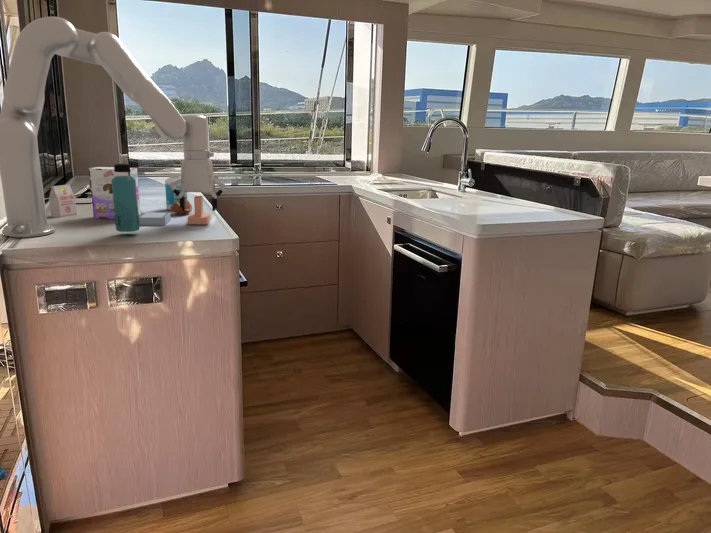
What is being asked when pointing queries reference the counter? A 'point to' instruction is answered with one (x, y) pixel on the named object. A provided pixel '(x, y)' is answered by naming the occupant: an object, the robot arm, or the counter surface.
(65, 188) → the gable top carton
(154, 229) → the counter surface
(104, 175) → the candy box
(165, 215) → the flat grey block
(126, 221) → the beverage bottle
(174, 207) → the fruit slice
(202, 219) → the stub
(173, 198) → the pill bottle
